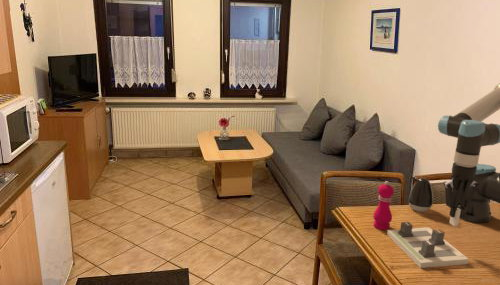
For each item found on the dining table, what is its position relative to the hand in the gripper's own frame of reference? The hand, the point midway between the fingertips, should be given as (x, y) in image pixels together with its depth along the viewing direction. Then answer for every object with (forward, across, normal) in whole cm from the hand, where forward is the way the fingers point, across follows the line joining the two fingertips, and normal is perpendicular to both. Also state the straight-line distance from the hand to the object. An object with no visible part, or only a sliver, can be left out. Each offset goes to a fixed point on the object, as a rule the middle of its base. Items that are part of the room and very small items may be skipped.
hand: (453, 224), depth 146 cm
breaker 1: (+7, +14, -7) cm, 17 cm away
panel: (+9, +10, 0) cm, 14 cm away
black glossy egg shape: (+9, -7, -31) cm, 33 cm away
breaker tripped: (+7, +5, 0) cm, 9 cm away
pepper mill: (+10, +18, -18) cm, 27 cm away
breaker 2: (+7, +14, +7) cm, 17 cm away
